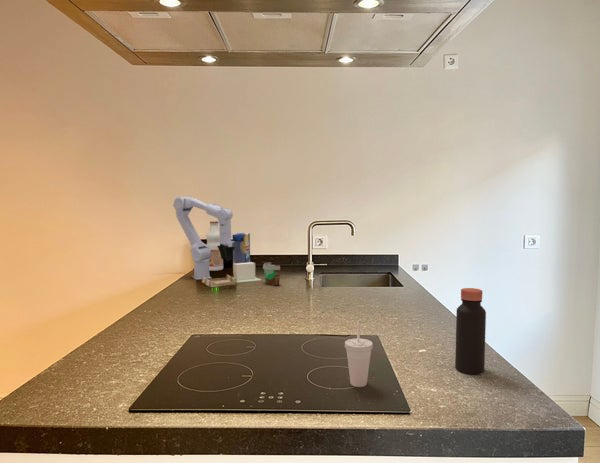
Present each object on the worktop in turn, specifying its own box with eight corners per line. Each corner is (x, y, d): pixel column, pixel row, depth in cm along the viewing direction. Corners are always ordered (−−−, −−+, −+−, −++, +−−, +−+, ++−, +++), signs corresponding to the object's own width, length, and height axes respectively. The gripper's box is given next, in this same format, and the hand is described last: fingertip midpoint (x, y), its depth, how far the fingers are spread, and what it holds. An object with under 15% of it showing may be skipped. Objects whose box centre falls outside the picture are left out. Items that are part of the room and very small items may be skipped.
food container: (259, 283, 224) (259, 262, 223) (270, 281, 226) (270, 262, 226) (268, 287, 213) (268, 266, 212) (280, 286, 215) (280, 265, 214)
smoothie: (369, 377, 108) (370, 319, 107) (375, 389, 102) (375, 327, 101) (342, 378, 108) (343, 320, 107) (346, 389, 102) (346, 328, 101)
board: (229, 279, 235) (228, 278, 235) (252, 276, 241) (252, 275, 241) (237, 283, 223) (237, 282, 223) (262, 280, 229) (262, 279, 229)
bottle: (450, 369, 113) (451, 290, 111) (462, 362, 118) (464, 286, 116) (476, 377, 108) (479, 294, 107) (488, 369, 113) (491, 289, 111)
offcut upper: (213, 284, 218) (212, 282, 218) (228, 282, 222) (228, 280, 222) (216, 286, 215) (216, 283, 215) (231, 284, 219) (231, 281, 219)
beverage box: (250, 272, 253) (249, 233, 251) (245, 276, 242) (245, 235, 240) (238, 272, 254) (237, 233, 252) (233, 276, 243) (232, 235, 241)
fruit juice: (220, 270, 260) (220, 221, 257) (204, 270, 260) (203, 221, 258) (225, 268, 269) (224, 220, 267) (209, 268, 270) (208, 220, 267)
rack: (201, 282, 225) (201, 276, 225) (227, 280, 231) (227, 274, 231) (209, 287, 213) (209, 281, 212) (236, 285, 219) (236, 279, 218)
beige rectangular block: (233, 279, 231) (233, 263, 230) (252, 277, 236) (252, 262, 235) (236, 280, 228) (236, 264, 227) (255, 278, 232) (255, 263, 232)
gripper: (237, 233, 225) (238, 260, 226) (228, 231, 237) (229, 257, 239) (224, 234, 221) (225, 262, 222) (215, 232, 234) (216, 258, 235)
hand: (226, 259), depth 230 cm, fingers open, 7 cm apart
